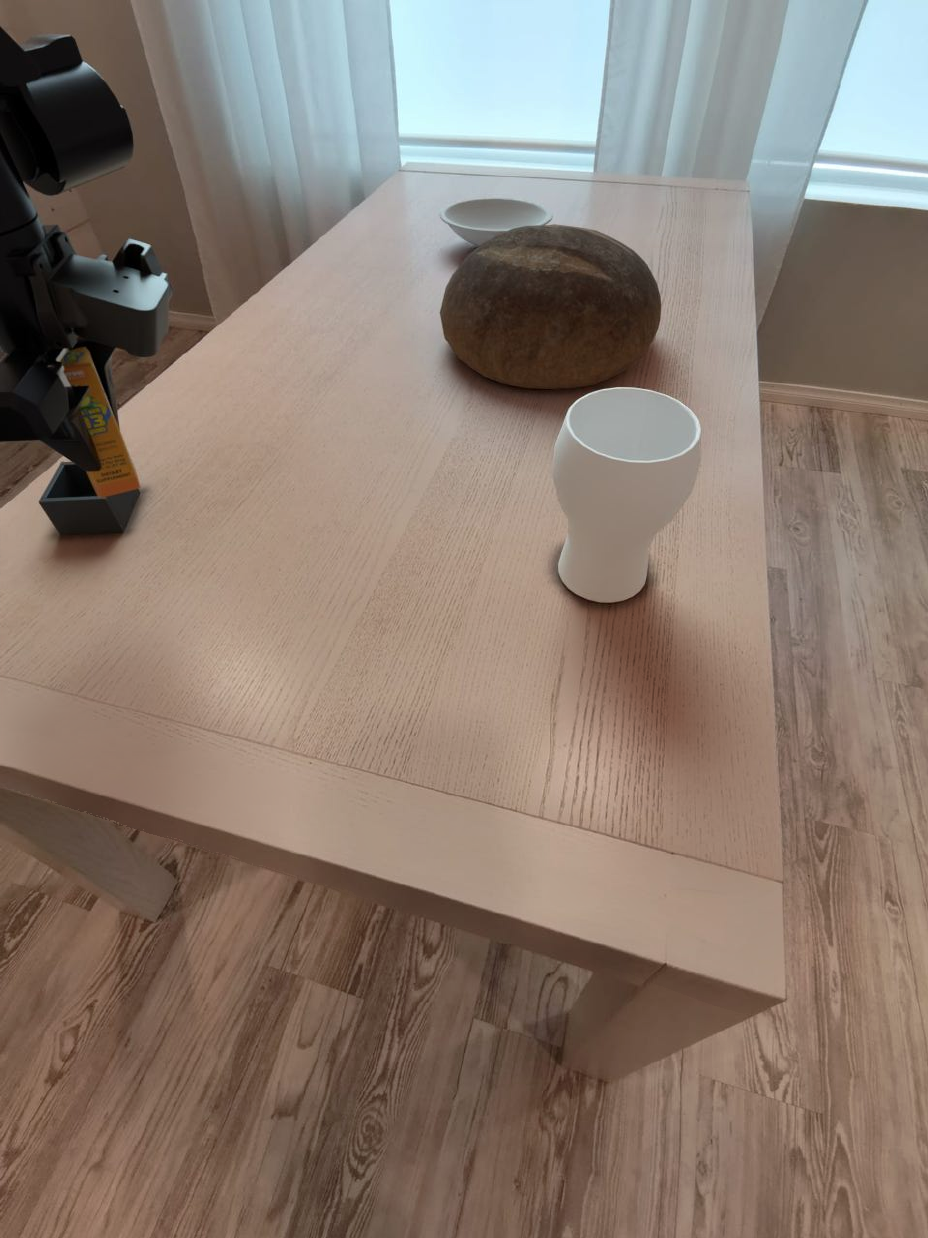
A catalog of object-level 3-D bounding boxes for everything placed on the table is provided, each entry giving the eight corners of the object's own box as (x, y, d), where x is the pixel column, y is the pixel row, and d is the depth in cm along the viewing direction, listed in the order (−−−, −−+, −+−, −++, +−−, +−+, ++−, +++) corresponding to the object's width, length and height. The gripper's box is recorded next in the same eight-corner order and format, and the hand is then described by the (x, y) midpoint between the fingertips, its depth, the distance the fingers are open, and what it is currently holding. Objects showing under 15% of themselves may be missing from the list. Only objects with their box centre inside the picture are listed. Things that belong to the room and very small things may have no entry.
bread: (608, 421, 73) (629, 301, 62) (405, 364, 81) (395, 251, 71) (679, 324, 87) (705, 214, 77) (500, 284, 96) (503, 181, 86)
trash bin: (123, 531, 62) (105, 498, 59) (59, 535, 62) (38, 502, 59) (140, 491, 66) (123, 458, 63) (80, 494, 66) (61, 461, 63)
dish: (554, 234, 108) (557, 199, 104) (544, 269, 99) (547, 233, 95) (450, 228, 110) (449, 194, 107) (431, 262, 101) (429, 227, 97)
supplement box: (97, 501, 49) (36, 369, 42) (93, 481, 51) (34, 352, 45) (143, 490, 50) (91, 359, 43) (137, 470, 52) (86, 343, 46)
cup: (517, 576, 57) (527, 428, 46) (585, 515, 62) (609, 368, 51) (621, 637, 53) (661, 489, 41) (685, 565, 58) (736, 416, 46)
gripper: (67, 288, 31) (181, 532, 43) (167, 166, 43) (234, 382, 55) (-168, 296, 31) (12, 538, 43) (-2, 171, 43) (102, 387, 55)
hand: (103, 452), depth 49 cm, fingers closed on supplement box, 4 cm apart
